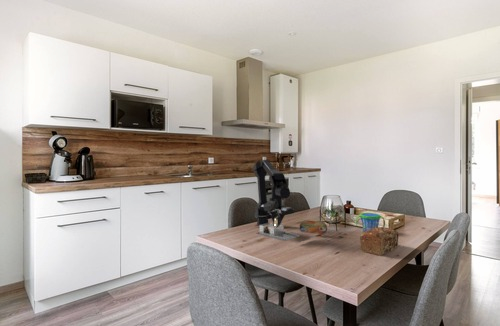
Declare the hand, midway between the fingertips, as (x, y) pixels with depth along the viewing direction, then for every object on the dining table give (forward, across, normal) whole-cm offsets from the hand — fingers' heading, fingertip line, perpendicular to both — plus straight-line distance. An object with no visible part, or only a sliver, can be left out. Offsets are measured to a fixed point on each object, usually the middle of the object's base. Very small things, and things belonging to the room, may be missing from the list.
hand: (276, 224), depth 154 cm
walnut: (+5, -4, 0) cm, 6 cm away
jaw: (+5, 0, 0) cm, 5 cm away
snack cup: (+7, +31, +46) cm, 56 cm away
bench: (+6, +1, 0) cm, 7 cm away
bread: (+7, +47, +19) cm, 51 cm away
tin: (+7, +12, +17) cm, 22 cm away
